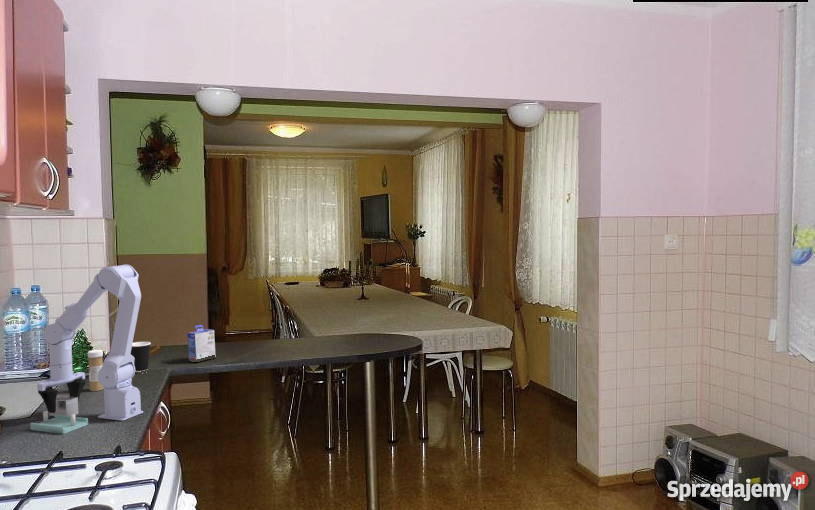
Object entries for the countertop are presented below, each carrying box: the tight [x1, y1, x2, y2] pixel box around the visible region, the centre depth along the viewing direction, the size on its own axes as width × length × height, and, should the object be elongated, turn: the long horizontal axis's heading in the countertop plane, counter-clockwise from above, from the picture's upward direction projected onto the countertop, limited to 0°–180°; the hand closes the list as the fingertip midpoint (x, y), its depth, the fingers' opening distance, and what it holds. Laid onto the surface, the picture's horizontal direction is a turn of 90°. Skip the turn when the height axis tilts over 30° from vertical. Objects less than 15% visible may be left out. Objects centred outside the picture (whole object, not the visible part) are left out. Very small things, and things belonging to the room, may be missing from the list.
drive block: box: [48, 395, 79, 417], centre depth 179 cm, size 7×4×5 cm, turn 70°
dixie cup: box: [130, 341, 152, 372], centre depth 230 cm, size 8×8×11 cm
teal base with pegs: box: [29, 410, 89, 435], centre depth 168 cm, size 12×8×4 cm, turn 70°
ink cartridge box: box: [186, 324, 216, 360], centre depth 248 cm, size 10×6×14 cm, turn 148°
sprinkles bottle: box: [87, 349, 104, 392], centre depth 206 cm, size 5×5×14 cm
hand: (63, 408), depth 179 cm, fingers open, 7 cm apart
